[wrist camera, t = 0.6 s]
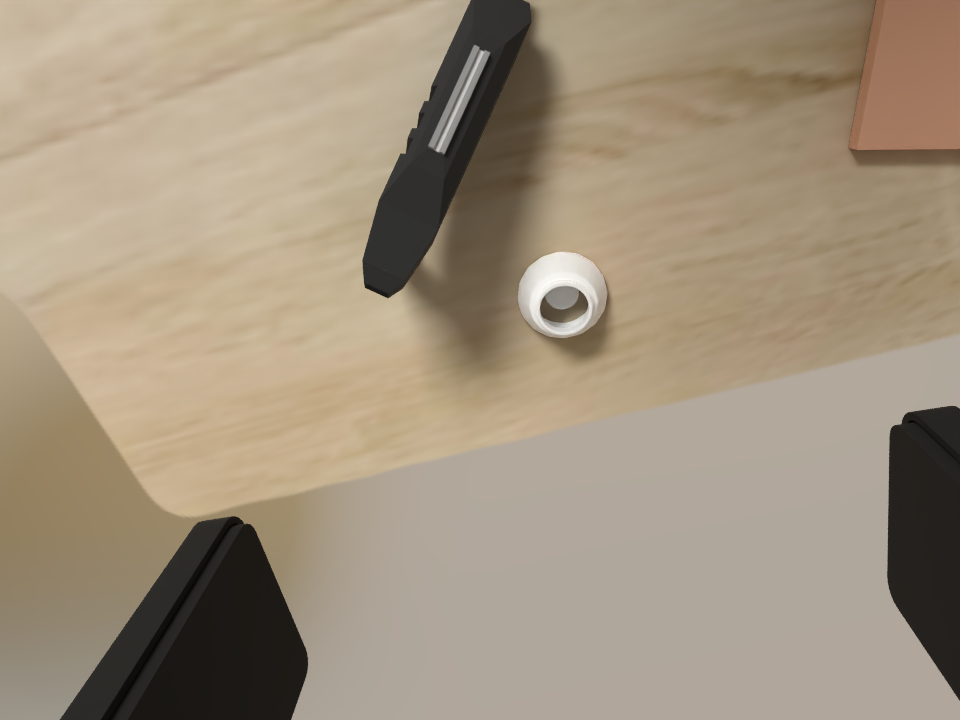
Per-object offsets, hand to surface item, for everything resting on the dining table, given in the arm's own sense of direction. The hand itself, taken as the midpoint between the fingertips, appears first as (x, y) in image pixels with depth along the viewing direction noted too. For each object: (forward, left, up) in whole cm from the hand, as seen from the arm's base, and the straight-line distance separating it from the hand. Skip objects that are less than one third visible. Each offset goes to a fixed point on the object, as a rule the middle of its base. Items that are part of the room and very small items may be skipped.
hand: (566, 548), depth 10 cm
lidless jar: (+6, +2, -30) cm, 31 cm away
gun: (-3, -4, -30) cm, 31 cm away
